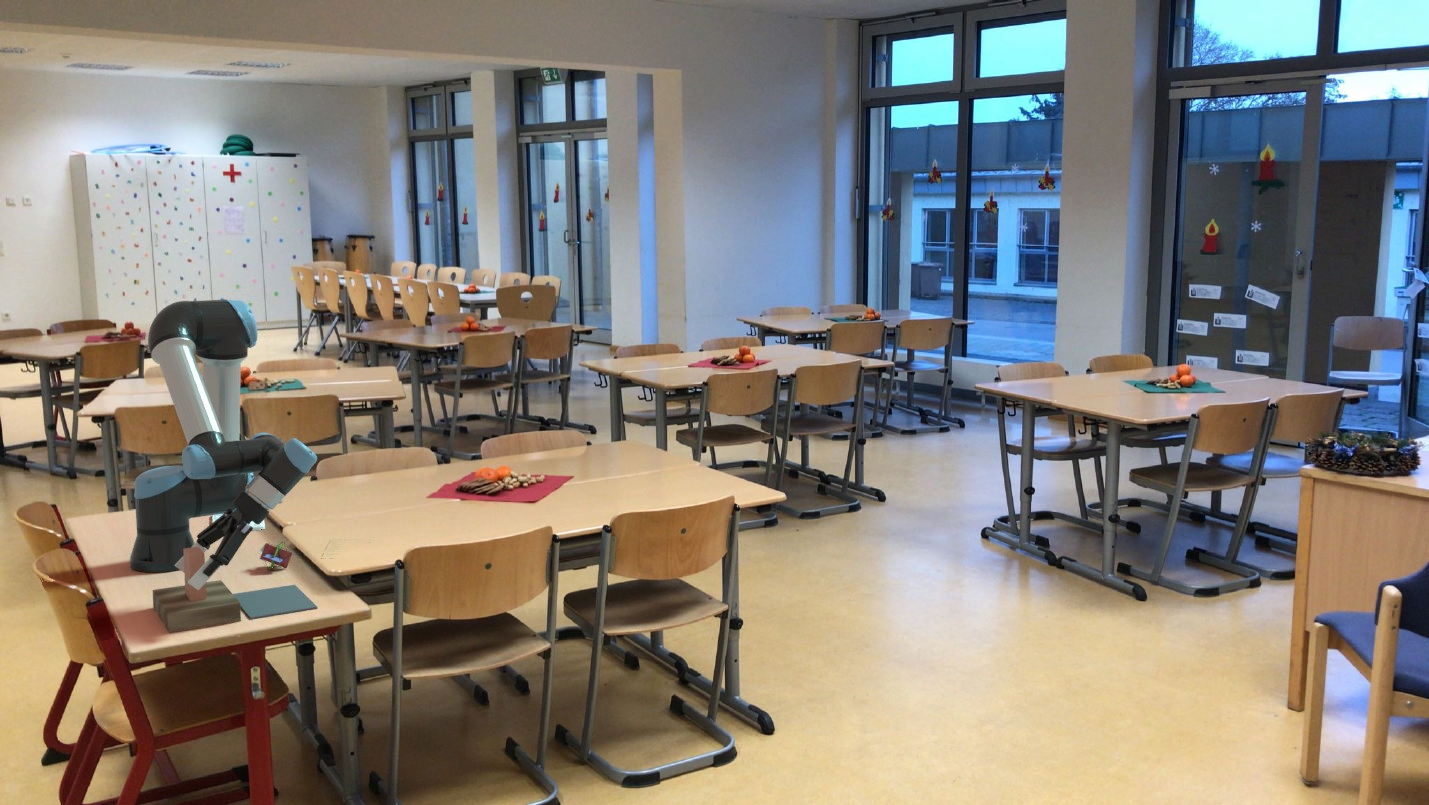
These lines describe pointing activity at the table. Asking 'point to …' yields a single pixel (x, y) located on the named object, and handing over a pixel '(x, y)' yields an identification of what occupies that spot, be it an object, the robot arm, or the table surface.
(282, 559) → the geometric puzzle
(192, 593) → the salmon pink brick
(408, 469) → the table surface
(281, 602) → the mat
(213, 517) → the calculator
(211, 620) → the brown flat block
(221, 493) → the robot arm
